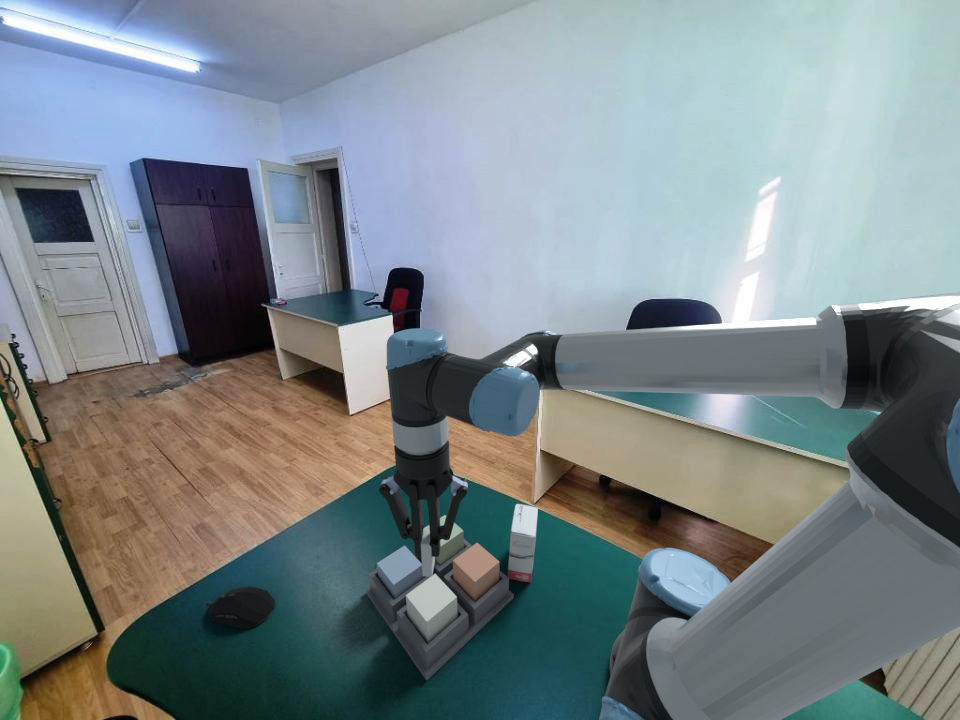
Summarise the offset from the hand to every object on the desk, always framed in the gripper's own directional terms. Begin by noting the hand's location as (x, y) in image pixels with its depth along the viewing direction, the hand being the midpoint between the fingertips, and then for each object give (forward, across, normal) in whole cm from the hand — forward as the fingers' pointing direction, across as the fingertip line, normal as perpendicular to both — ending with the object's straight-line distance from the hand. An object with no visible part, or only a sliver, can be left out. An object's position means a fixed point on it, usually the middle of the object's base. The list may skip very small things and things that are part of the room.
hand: (428, 568), depth 59 cm
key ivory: (+11, 0, 0) cm, 11 cm away
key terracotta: (+11, -7, -7) cm, 15 cm away
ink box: (+15, -16, -15) cm, 27 cm away
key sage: (+11, 0, -14) cm, 18 cm away
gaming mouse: (+16, +37, -3) cm, 40 cm away
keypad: (+15, 0, -7) cm, 16 cm away
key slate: (+12, +7, -7) cm, 16 cm away
